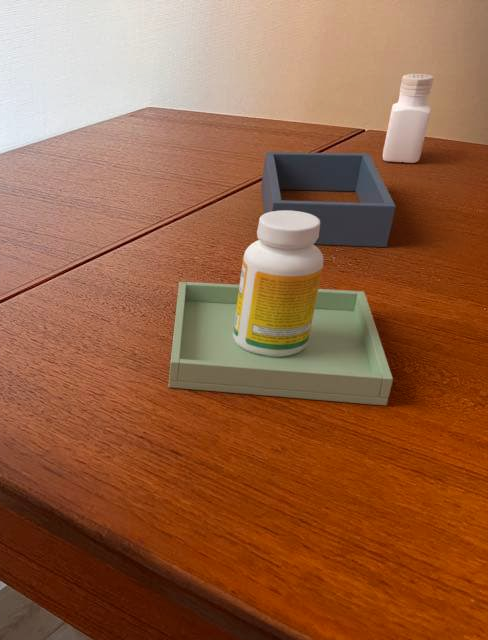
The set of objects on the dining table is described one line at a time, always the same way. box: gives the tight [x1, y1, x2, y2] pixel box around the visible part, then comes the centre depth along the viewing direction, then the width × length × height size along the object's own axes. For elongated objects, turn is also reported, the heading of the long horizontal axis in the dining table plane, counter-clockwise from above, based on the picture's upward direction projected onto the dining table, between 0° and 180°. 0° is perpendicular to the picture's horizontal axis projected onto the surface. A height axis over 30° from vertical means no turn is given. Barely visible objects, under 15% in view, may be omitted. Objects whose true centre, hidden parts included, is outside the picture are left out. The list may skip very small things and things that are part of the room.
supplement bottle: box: [233, 210, 324, 357], centre depth 62 cm, size 5×5×10 cm
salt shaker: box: [382, 73, 434, 164], centre depth 101 cm, size 4×4×10 cm
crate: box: [260, 151, 397, 248], centre depth 88 cm, size 11×18×4 cm, turn 165°
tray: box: [167, 281, 394, 407], centre depth 64 cm, size 14×14×2 cm
